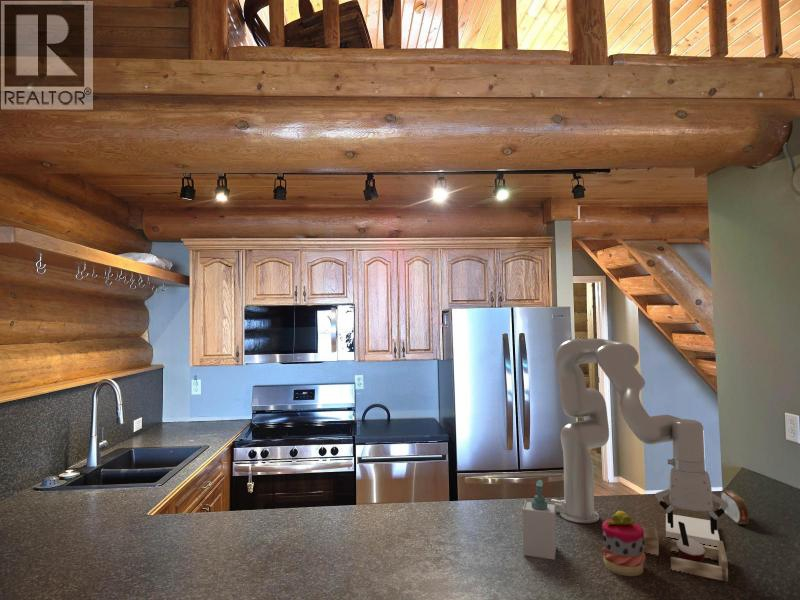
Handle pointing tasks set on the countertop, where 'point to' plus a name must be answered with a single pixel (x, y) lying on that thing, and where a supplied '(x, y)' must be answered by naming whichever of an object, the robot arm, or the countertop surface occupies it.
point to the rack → (703, 568)
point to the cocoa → (689, 547)
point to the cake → (623, 545)
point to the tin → (735, 507)
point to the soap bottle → (539, 526)
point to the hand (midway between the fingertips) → (691, 529)
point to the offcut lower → (651, 549)
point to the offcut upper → (650, 537)
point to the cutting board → (693, 530)
